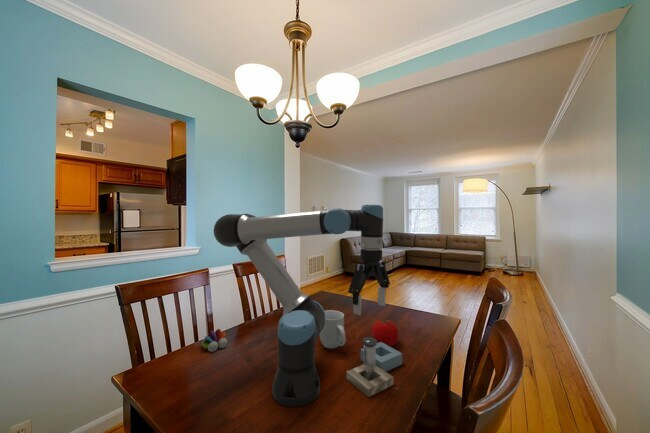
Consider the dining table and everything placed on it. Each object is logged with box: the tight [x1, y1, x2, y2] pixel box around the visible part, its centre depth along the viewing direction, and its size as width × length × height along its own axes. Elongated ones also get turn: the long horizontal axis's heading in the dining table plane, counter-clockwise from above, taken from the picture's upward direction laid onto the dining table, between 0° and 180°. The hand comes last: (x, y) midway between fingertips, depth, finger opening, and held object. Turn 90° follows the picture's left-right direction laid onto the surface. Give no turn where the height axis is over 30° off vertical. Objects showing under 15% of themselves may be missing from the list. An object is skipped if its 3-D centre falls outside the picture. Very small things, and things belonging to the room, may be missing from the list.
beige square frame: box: [345, 363, 394, 398], centre depth 89 cm, size 11×11×2 cm
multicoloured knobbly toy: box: [201, 328, 228, 353], centre depth 112 cm, size 8×10×7 cm
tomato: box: [370, 319, 399, 348], centre depth 115 cm, size 12×12×10 cm
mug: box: [319, 309, 347, 350], centre depth 112 cm, size 15×11×13 cm
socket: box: [359, 342, 403, 373], centre depth 101 cm, size 11×11×4 cm
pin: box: [362, 336, 377, 381], centre depth 89 cm, size 5×5×14 cm
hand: (369, 309), depth 93 cm, fingers open, 13 cm apart
